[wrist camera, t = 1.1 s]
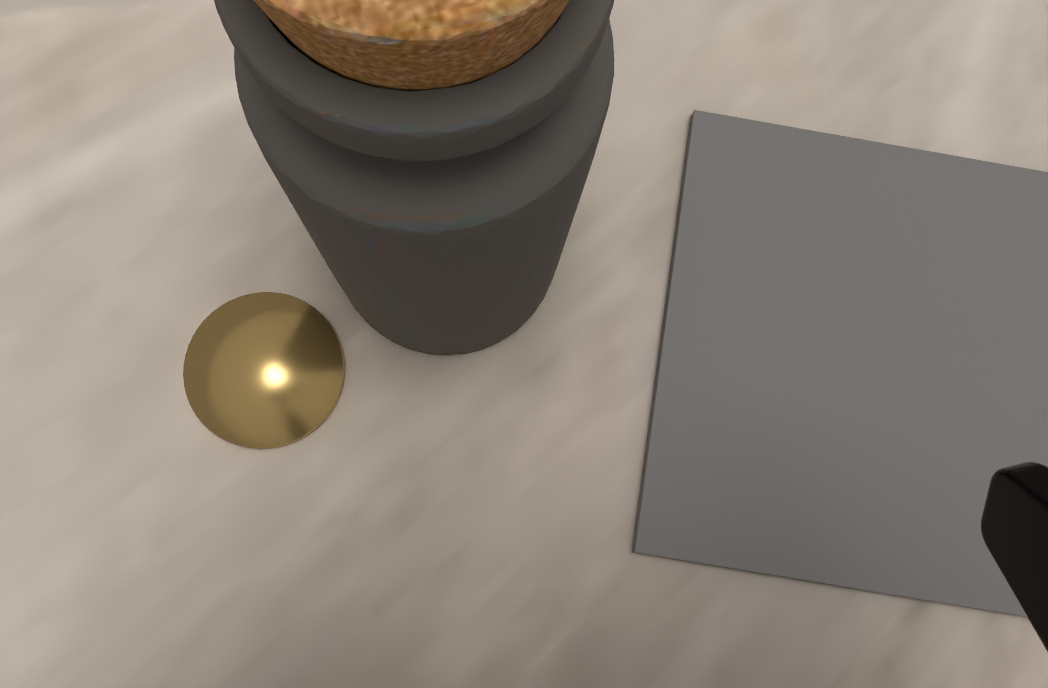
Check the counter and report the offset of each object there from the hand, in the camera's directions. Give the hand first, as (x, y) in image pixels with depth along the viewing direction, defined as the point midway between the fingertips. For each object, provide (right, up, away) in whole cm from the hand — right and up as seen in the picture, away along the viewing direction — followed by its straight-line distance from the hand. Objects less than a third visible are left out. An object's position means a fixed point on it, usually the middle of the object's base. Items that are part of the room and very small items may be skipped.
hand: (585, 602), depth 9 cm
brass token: (-7, +2, +14) cm, 16 cm away
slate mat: (+9, +2, +15) cm, 17 cm away
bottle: (-3, +5, +15) cm, 16 cm away
